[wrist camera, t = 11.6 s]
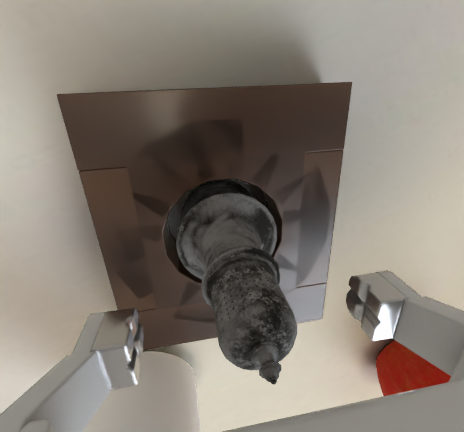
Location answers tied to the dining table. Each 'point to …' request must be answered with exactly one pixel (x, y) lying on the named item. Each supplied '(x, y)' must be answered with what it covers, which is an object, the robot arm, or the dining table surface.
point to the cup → (152, 399)
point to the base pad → (198, 172)
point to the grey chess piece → (238, 274)
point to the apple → (406, 370)
